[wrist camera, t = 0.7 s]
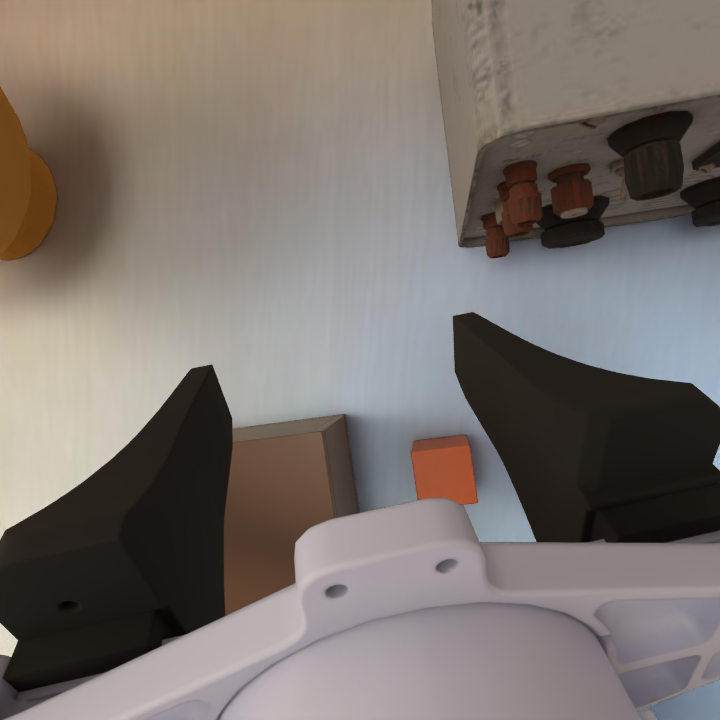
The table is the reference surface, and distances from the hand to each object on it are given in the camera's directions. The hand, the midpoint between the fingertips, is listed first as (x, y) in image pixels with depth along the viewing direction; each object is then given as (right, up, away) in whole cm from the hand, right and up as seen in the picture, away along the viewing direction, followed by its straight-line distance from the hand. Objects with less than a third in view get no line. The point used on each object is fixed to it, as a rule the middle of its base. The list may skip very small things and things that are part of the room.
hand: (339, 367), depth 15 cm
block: (+7, -8, +25) cm, 27 cm away
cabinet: (-6, -12, +27) cm, 30 cm away
